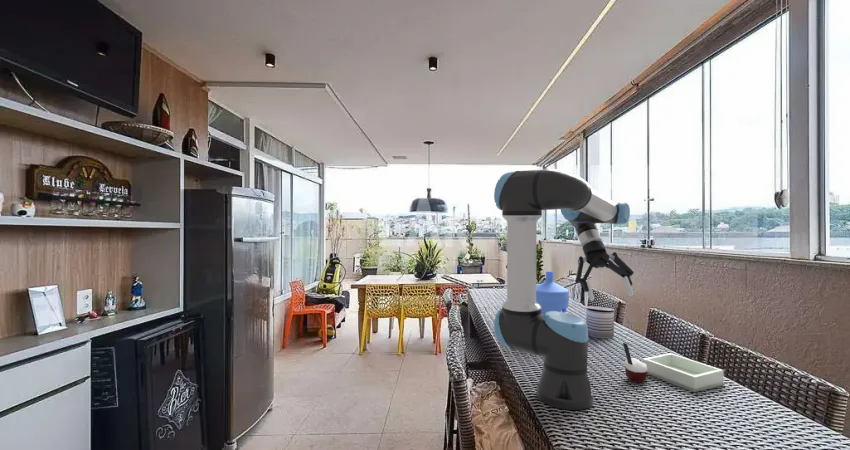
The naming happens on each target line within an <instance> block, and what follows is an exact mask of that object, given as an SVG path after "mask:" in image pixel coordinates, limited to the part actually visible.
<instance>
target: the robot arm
mask: <svg viewBox="0 0 850 450" xmlns="http://www.w3.org/2000/svg"><path fill="white" fill-rule="evenodd" d="M493 199H494V200H493V201H494V203H495V206H496V207H497V209H498V210H500V211H502V212H501V215H502V218H503V219H504V220H505V221H506V226H507V228H506V229H507V231H506V232H507V233H506V234H507V236H506V239H507V240H506V241H507V244H506V246H507V247H506V249H507V250H506V258H507V259H506V264H507V265H506V267H507V268H506V270H507V272H506V278H507V279H506V283H507V284H506V286H507V287H506V288H507V289H506V292H507V293H506V300H505V301H504V303H502V305H501V308H500V309H499V310H498V311H497V312H496V315H495V318H494V321H493V330H494V335H495V338H496V340H497V341H498V342H499V343H500V345H502V346H503V347H505V348H508V349H511V350H513V351H520V352H524V353H527V354H532V355H536V356H539V357H543V368H542V369H543V370H542V373H541V375H540V377H539V382H538V383H537V385H536V396H537V399H539V400H540V401H541V402H542V403H544V404H546V405H548V406H551V407H554V408H557V409H562V410H568V411H580V410H581V411H582V410H587V409H589V408H592V406H593V405H594V392H593V390H592V386H591V382H590V379H589V376H588V354H589V351H588V348H589V335H588V328H587V324H586V320H584V319H583V318H581V317H580V316H577V315H575V314H572V313H568V312H566V313H565V312H562V311H561V312H557V311H549V312H546V313H545V315H542V314H541V306H540V305H539V304H538V303H537V301H536V285H537V232H538V231H537V222H538V221H539V220H540V219H541V218H542V217H543V216H542V215H543V211H547V210H549V211H550V210H551V211H552V210H560V214H561V215H562V216H563V218H564V219H565V220H566V221H567V222H569V223H570V224H571V225H572V227H574V229H575V231H576V232H575V233H576V234H577V237H578V240H579V243H580V245H581V247H582V248H581V249H582V252H583V254H584V256H585V257H583V256H582V255H580V256H579V257H578V259H577V264H578V265H577V266H578V267H577V271H576V276H575V281H574V282H575V284H580V285H581V286H582V288H583V291H584V292H585V293H587V296H588V298H589V302H593V301H594V300H595V295H594V292H593V289H592V286H591V283H590V281H589V280H588V278H589V275H590V274H591V272H592V270H593V268H595V269H601V268H607V269H609V270H611V271H612V272H613V273H615V274H617V275H619V276H620V277H621V278H622V279H621V280H622V282H623V285H624V288H625V290H626V292H627V294H628V297H632V296H633V295H634V294H635V293H634V290H633V287H632V286H633V282H632V278H631V277H632V276H633V275H634V271H633V270H632V268H630V266H628V265H627V264H626V263H625V262H624V261H623V260H622V259H621V258H620V257H619V255H618V254H617V252H616V251H614V252H613V253H611V254H608V252H607V249H606V247H605V244H604V241H603V240H602V237H601V234H600V231H599V229H598V227H597V224H610V225H611V224H612V225H619V224H620V225H624V224H627V223H629V221H630V217H631V215H630V214H631V210H630V209H631V208H630V205H629V203H628V202H627V201H613V200H611V199H610V198H608V197H606V196H605V195H603V194H601V193H599V192H597V191H596V190H595V189H593V188H592V187H591V185H590V183H589V182H588V181H586V180H585V179H583V178H581V177H580V176H578V175H575V174H573V173H569V172H566V171H563V170H560V169H559V170H558V169H555V168H554V169H553V168H545V169H535V170H533V169H531V170H515V171H511V172H509V171H508V172H506V173H504V174H502V175H501V176H500V177H499V179H497V182H496V184H495V187H494V191H493ZM585 263H587V264H588V267H587V270H586V271H585V273H584V276H583V277H582V273H583V268H584V264H585Z"/></svg>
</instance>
